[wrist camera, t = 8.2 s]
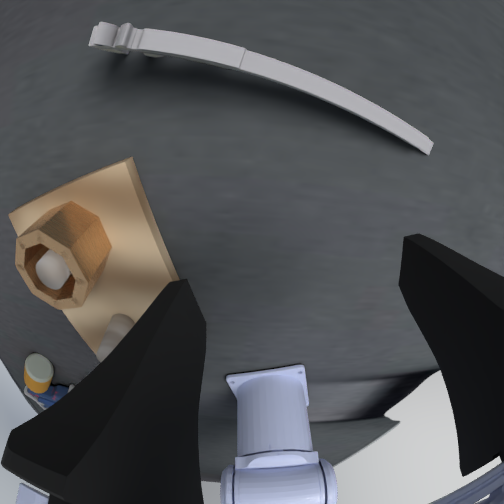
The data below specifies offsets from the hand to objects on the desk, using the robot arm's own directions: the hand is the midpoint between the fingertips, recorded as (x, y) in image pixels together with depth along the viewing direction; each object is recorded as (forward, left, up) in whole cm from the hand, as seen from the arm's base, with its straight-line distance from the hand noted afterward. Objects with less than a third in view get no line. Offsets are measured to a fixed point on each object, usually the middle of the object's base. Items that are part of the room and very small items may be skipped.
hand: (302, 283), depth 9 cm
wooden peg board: (-4, +14, -9) cm, 17 cm away
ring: (0, +14, -8) cm, 16 cm away
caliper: (+6, -2, -10) cm, 12 cm away
